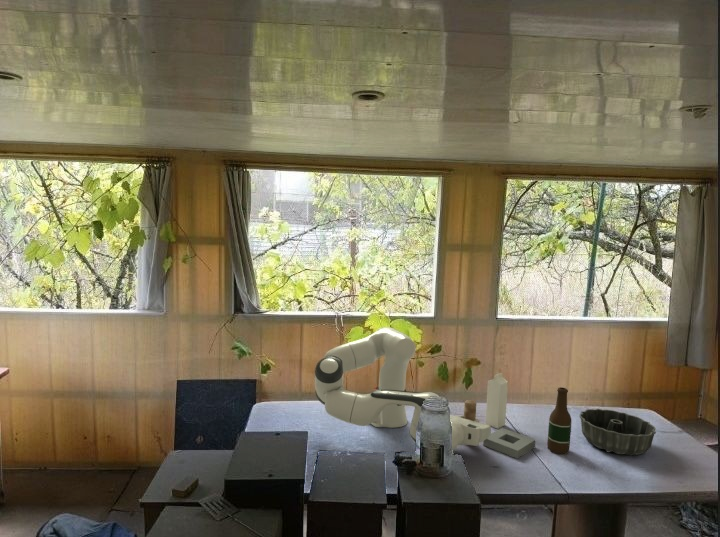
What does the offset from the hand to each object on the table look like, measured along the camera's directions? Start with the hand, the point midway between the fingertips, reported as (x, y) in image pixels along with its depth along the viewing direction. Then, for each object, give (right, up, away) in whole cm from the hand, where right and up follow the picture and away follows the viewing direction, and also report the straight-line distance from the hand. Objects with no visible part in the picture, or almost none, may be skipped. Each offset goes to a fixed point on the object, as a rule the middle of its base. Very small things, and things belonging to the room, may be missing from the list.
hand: (470, 419), depth 183 cm
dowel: (-1, -9, 0) cm, 9 cm away
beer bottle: (+32, -11, -4) cm, 34 cm away
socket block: (+14, -10, -2) cm, 17 cm away
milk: (+15, -8, +18) cm, 25 cm away
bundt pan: (+57, -11, +3) cm, 58 cm away
